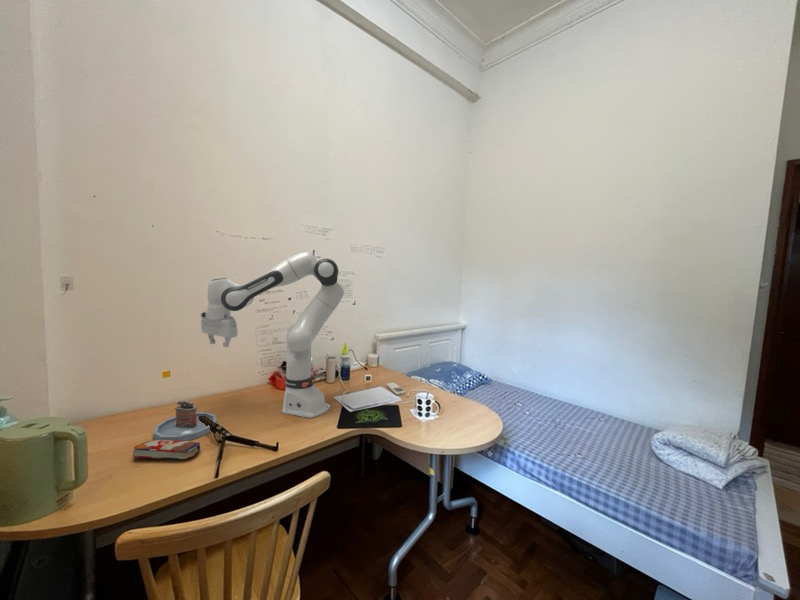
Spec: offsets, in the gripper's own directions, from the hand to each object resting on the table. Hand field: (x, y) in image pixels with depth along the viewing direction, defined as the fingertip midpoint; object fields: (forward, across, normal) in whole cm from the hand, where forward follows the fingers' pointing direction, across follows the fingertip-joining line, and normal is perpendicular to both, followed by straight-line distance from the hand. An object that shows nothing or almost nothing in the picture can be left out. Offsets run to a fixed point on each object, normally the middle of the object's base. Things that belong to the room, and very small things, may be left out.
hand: (219, 345), depth 137 cm
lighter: (+28, -7, +18) cm, 34 cm away
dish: (+29, -7, +18) cm, 35 cm away
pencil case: (+30, -20, +31) cm, 47 cm away
